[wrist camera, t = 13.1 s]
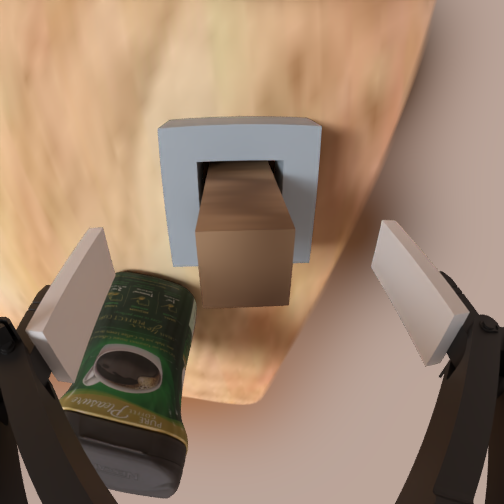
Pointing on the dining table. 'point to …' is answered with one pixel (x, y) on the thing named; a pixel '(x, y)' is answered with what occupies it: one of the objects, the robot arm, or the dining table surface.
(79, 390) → the coffee jar
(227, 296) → the square bit
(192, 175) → the bore block
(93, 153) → the dining table surface
